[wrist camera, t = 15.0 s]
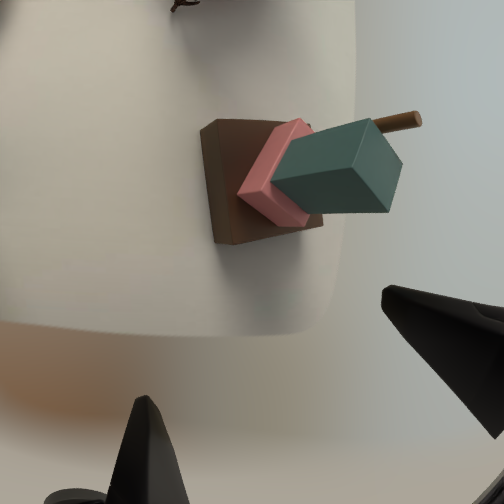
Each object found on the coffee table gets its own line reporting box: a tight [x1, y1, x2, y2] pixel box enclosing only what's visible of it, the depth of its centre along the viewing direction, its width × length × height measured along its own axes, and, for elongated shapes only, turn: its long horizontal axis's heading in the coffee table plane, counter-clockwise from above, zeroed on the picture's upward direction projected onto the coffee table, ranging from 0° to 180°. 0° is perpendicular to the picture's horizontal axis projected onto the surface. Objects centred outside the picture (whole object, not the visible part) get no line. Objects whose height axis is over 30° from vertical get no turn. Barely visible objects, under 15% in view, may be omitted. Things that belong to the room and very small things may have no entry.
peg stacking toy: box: [237, 111, 422, 227], centre depth 15 cm, size 6×4×10 cm, turn 149°
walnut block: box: [200, 119, 323, 245], centre depth 20 cm, size 8×8×2 cm
